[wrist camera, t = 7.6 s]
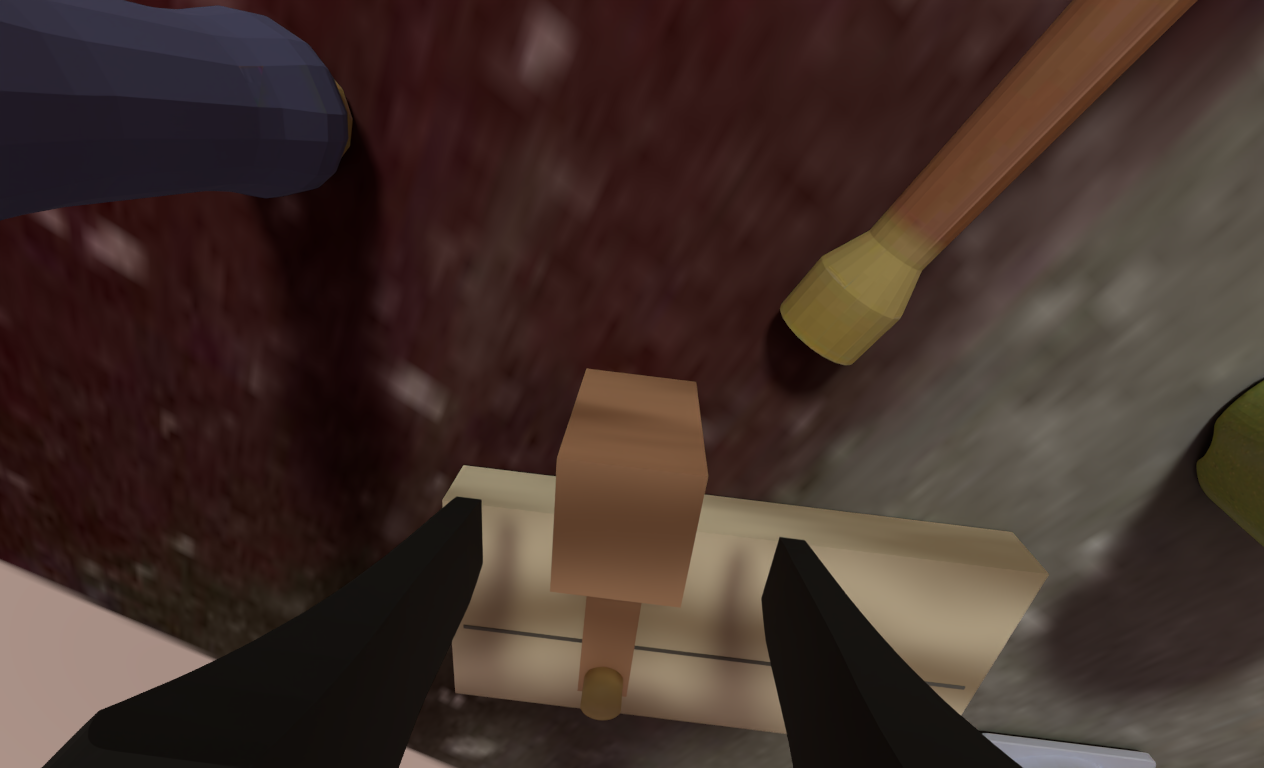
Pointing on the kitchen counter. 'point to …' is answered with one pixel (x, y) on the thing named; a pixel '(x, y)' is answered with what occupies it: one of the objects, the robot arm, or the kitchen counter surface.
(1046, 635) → the kitchen counter surface
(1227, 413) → the plant pot
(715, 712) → the board
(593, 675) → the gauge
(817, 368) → the kitchen counter surface
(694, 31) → the kitchen counter surface
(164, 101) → the rubber mallet
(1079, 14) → the hammer
